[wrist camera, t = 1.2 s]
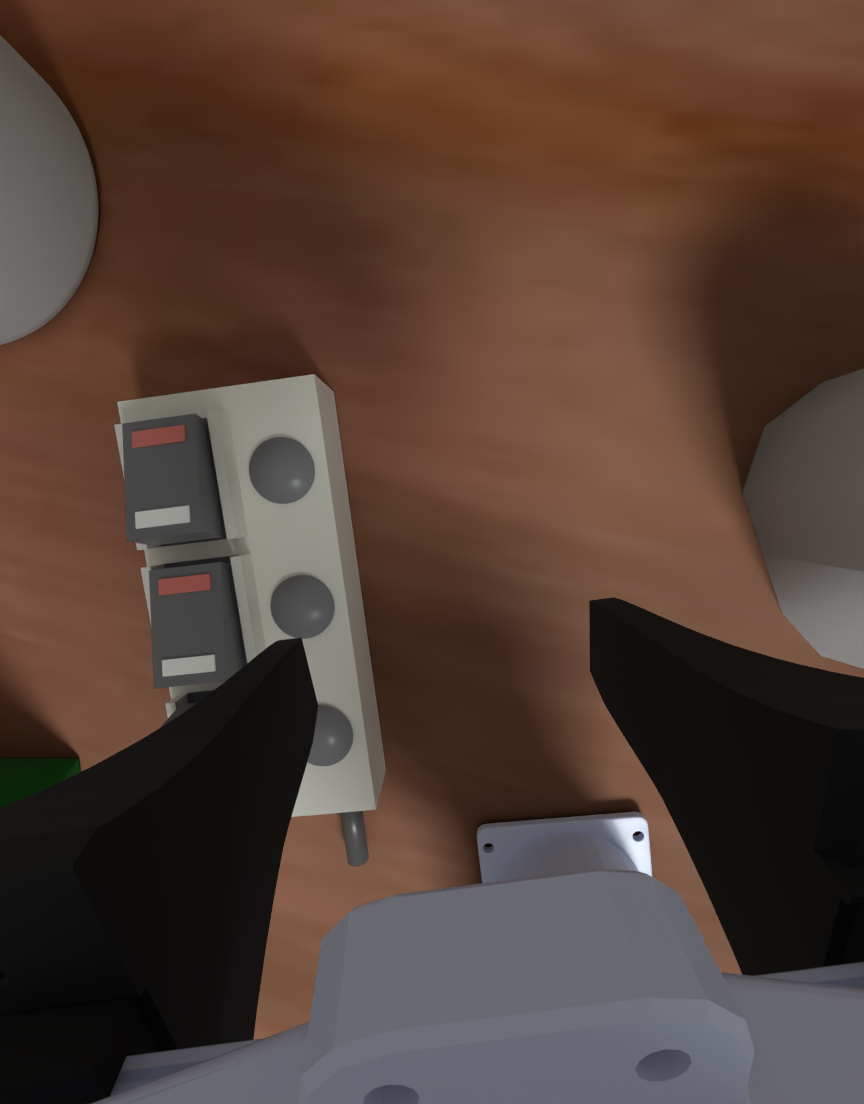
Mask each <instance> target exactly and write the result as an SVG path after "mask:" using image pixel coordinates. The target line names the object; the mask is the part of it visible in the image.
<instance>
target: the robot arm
mask: <svg viewBox="0 0 864 1104" xmlns="http://www.w3.org/2000/svg"><path fill="white" fill-rule="evenodd" d="M590 672H591V674H592V677H593V679H594V681H595V684H596V686H597V688H598V691H599V693H600V695H601V697H602V699H603V702H604V704H605V706H606V707H607V709H608V711H609V712H610V714H611V716H612V717H613V719H614V720H615V722H616V724H617V725H618V727H619V729H620V730H621V732H622V733H623V735H624V737H625V738H626V740H627V741H628V743H629V745H630V746H631V748H632V749H633V751H634V753H635V754H636V756H637V757H638V759H639V760H640V762H641V764H642V765H643V767H644V768H645V770H646V772H647V773H648V775H649V776H650V778H651V780H652V781H653V783H654V785H655V786H656V788H657V790H658V792H659V794H660V795H661V797H662V799H663V801H664V803H665V805H666V807H667V809H668V811H669V813H670V815H671V817H672V819H673V821H674V823H675V825H676V827H677V829H678V831H679V833H680V835H681V837H682V839H683V841H684V843H685V846H686V848H687V850H688V852H689V854H690V856H691V858H692V861H693V863H694V865H695V867H696V869H697V871H698V874H699V876H700V878H701V880H702V882H703V884H704V886H705V889H706V891H707V893H708V895H709V898H710V900H711V902H712V904H713V907H714V909H715V911H716V914H717V916H718V918H719V920H720V923H721V925H722V927H723V930H724V932H725V934H726V936H727V939H728V941H729V943H730V946H731V948H732V950H733V953H734V955H735V957H736V960H737V962H738V965H739V967H740V970H741V972H742V974H743V975H739V974H730V973H721V972H720V970H719V968H718V966H717V964H716V962H715V960H714V958H713V956H712V955H711V953H710V951H709V949H708V947H707V945H706V943H705V941H704V939H703V937H702V935H701V934H700V932H699V930H698V928H697V926H696V924H695V922H694V920H693V918H692V916H691V914H690V912H689V911H688V909H687V907H686V905H685V903H684V901H683V899H682V897H681V895H680V893H678V892H676V891H675V890H673V889H671V888H670V887H668V886H666V885H665V884H663V883H661V882H660V881H658V880H656V879H655V878H653V877H652V867H651V855H650V842H649V830H648V823H647V820H646V819H645V817H644V816H643V815H642V814H641V813H639V812H623V813H611V814H599V815H587V816H575V817H563V818H551V819H539V820H526V821H514V822H502V823H490V824H483V825H481V826H480V827H479V828H478V830H477V844H478V852H479V861H480V869H481V877H482V883H481V884H473V885H465V886H457V887H450V888H442V889H434V890H426V891H418V892H410V893H403V894H395V895H392V896H389V897H386V898H383V899H380V900H377V901H374V902H371V903H368V904H365V905H362V906H359V907H356V908H355V909H353V910H352V911H350V912H349V913H348V914H347V915H346V916H345V917H344V918H343V919H342V920H341V921H340V922H339V923H338V924H337V925H336V926H335V927H334V928H333V929H332V930H331V931H330V932H329V933H328V934H327V935H326V936H325V937H324V938H323V939H322V942H321V949H320V955H319V962H318V968H317V975H316V981H315V987H314V994H313V1000H312V1007H311V1013H310V1019H309V1022H307V1023H304V1024H301V1025H299V1026H296V1027H293V1028H291V1029H288V1030H286V1031H283V1032H280V1033H278V1034H275V1035H272V1036H270V1037H267V1038H264V1039H256V1040H253V1037H254V1029H255V1020H256V1012H257V1005H258V998H259V991H260V984H261V977H262V970H263V963H264V956H265V949H266V942H267V936H268V930H269V924H270V918H271V912H272V906H273V900H274V894H275V889H276V883H277V878H278V872H279V867H280V862H281V856H282V851H283V846H284V842H285V838H286V834H287V830H288V826H289V823H290V820H291V816H292V813H293V809H294V806H295V803H296V799H297V796H298V792H299V789H300V786H301V782H302V779H303V775H304V772H305V769H306V765H307V762H308V758H309V755H310V751H311V747H312V744H313V739H314V732H315V726H316V719H317V711H318V703H317V699H316V694H315V690H314V686H313V682H312V678H311V674H310V670H309V666H308V662H307V657H306V653H305V649H304V645H303V641H302V637H301V638H293V639H285V640H278V641H276V642H274V643H273V644H271V645H270V646H269V647H267V648H266V649H265V650H263V651H262V652H261V653H260V654H258V655H257V656H256V657H255V658H253V659H252V660H251V661H250V662H249V663H247V664H246V665H245V666H244V667H243V668H241V669H240V670H239V671H238V672H236V673H235V674H234V675H233V676H231V677H230V678H229V679H228V680H227V681H225V682H224V683H223V684H222V685H220V686H219V687H218V688H216V689H215V690H214V691H212V692H211V693H210V694H208V695H207V696H206V697H204V698H203V699H202V700H200V701H199V702H198V703H196V704H195V705H194V706H192V707H191V708H190V709H188V710H187V711H185V712H184V713H182V714H181V715H179V716H178V717H176V718H175V719H173V720H172V721H170V722H169V723H167V724H166V725H164V726H163V727H161V728H159V729H158V730H156V731H155V732H153V733H151V734H150V735H148V736H147V737H145V738H143V739H142V740H140V741H138V742H136V743H135V744H133V745H131V746H129V747H127V748H125V749H124V750H122V751H120V752H118V753H116V754H114V755H113V756H111V757H109V758H107V759H105V760H103V761H102V762H100V763H98V764H96V765H94V766H92V767H90V768H88V769H86V770H84V771H82V772H80V773H78V774H76V775H74V776H72V777H70V778H68V779H65V780H63V781H61V782H59V783H57V784H55V785H52V786H50V787H48V788H46V789H44V790H41V791H39V792H37V793H35V794H32V795H30V796H28V797H25V798H23V799H21V800H18V801H16V802H13V803H11V804H8V805H6V806H3V807H1V808H0V1104H864V678H861V677H856V676H851V675H845V674H840V673H835V672H830V671H826V670H822V669H817V668H813V667H808V666H804V665H799V664H795V663H791V662H788V661H784V660H780V659H776V658H773V657H769V656H766V655H763V654H759V653H756V652H753V651H749V650H746V649H743V648H740V647H737V646H734V645H731V644H728V643H725V642H722V641H720V640H717V639H714V638H712V637H709V636H706V635H704V634H701V633H698V632H696V631H693V630H691V629H689V628H686V627H684V626H681V625H679V624H677V623H674V622H672V621H670V620H667V619H665V618H663V617H660V616H658V615H656V614H654V613H651V612H649V611H647V610H645V609H642V608H640V607H638V606H635V605H633V604H631V603H628V602H626V601H623V600H620V599H617V598H606V599H599V600H591V601H590ZM637 831H640V832H641V833H640V834H639V835H637V836H633V834H634V833H635V832H637ZM487 843H490V844H492V847H489V848H488V847H485V846H484V845H485V844H487Z"/></svg>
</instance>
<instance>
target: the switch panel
mask: <svg viewBox="0 0 864 1104" xmlns="http://www.w3.org/2000/svg"><path fill="white" fill-rule="evenodd" d="M117 403H118V409H119V414H120V420H121V424H116V425H114V426H115V431H116V437H117V442H118V448H119V453H120V459H121V464H122V470H123V475H124V458H123V432H122V423H130V422H137V421H144V420H151V419H159V418H166V417H173V416H180V415H188V414H197V415H198V416H200V417H201V418H203V419H204V420H205V421H207V422H208V427H209V433H210V439H211V445H212V451H213V457H214V463H215V469H216V475H217V481H218V487H219V498H220V515H221V531H222V537H220V538H212V539H203V540H195V541H187V542H179V543H171V544H162V545H154V546H151V545H145V544H140V543H136V546H137V550H143V549H144V552H145V558H146V563H147V567H143V568H141V573H142V579H143V584H144V590H145V595H146V601H147V606H148V612H149V617H150V623H151V609H150V587H149V570H157V569H165V568H174V567H182V566H190V565H199V564H207V563H216V562H223V563H229V564H231V567H232V573H233V579H234V585H235V591H236V597H237V603H238V609H239V615H240V621H241V628H242V641H243V657H244V666H245V665H246V664H247V663H249V662H250V661H251V660H252V659H253V658H255V657H256V656H257V655H258V654H260V653H261V652H262V651H263V650H265V649H266V648H267V647H269V646H270V645H271V644H273V643H274V642H276V641H278V640H285V639H293V638H301V637H302V641H303V645H304V649H305V653H306V657H307V662H308V666H309V670H310V674H311V678H312V682H313V686H314V690H315V694H316V699H317V703H318V711H317V719H316V726H315V732H314V739H313V744H312V747H311V751H310V755H309V758H308V762H307V765H306V769H305V772H304V775H303V779H302V782H301V786H300V789H299V792H298V796H297V799H296V803H295V806H294V809H293V813H292V816H291V817H295V816H307V815H319V814H330V813H341V818H342V825H343V832H344V839H345V845H346V852H347V859H348V863H349V865H351V866H355V867H356V866H361V865H363V864H364V863H365V862H366V861H367V860H368V858H369V855H368V848H367V841H366V834H365V827H364V820H363V814H362V811H365V810H376V807H377V804H378V800H379V796H380V792H381V788H382V784H383V780H384V776H385V772H386V767H385V759H384V752H383V745H382V738H381V730H380V723H379V716H378V709H377V701H376V694H375V687H374V680H373V672H372V665H371V658H370V651H369V644H368V636H367V629H366V622H365V615H364V607H363V600H362V593H361V586H360V578H359V571H358V564H357V557H356V550H355V542H354V535H353V528H352V521H351V513H350V506H349V499H348V492H347V484H346V477H345V470H344V463H343V455H342V448H341V441H340V434H339V427H338V419H337V412H336V405H335V398H334V392H333V391H332V390H331V389H330V388H329V387H328V386H327V385H326V384H325V383H324V382H322V381H321V380H320V379H319V378H318V377H317V376H316V375H315V374H312V375H305V376H297V377H290V378H283V379H276V380H269V381H262V382H255V383H248V384H241V385H234V386H227V387H219V388H212V389H205V390H198V391H191V392H184V393H177V394H170V395H163V396H156V397H148V398H141V399H134V400H127V401H120V402H117ZM224 682H225V681H223V682H213V683H203V684H194V685H184V686H174V687H169V690H170V695H171V700H169V701H168V702H167V703H165V705H166V710H167V716H168V718H169V717H170V716H171V715H172V714H173V712H174V711H175V710H176V709H177V708H178V706H179V705H180V704H187V703H197V702H199V701H200V700H202V699H203V698H204V697H206V696H207V695H208V694H210V693H211V692H212V691H214V690H215V689H216V688H218V687H219V686H220V685H222V684H223V683H224Z"/></svg>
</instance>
